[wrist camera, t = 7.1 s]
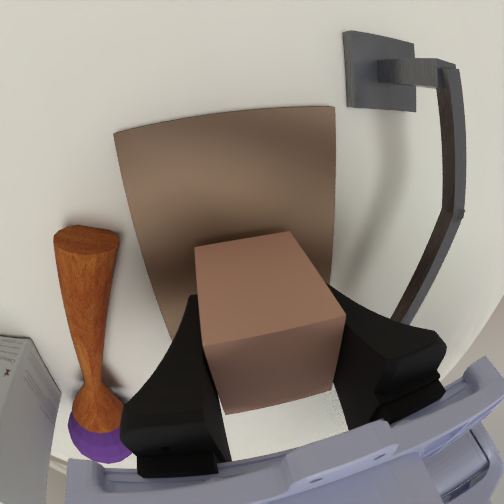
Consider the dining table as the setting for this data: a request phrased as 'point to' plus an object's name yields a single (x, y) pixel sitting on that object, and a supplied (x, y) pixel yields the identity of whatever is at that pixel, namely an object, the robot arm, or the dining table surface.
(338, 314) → the block
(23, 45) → the dining table surface
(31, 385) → the supplement box
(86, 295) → the kendama
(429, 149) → the dining table surface
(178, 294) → the walnut board
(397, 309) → the grey door handle
